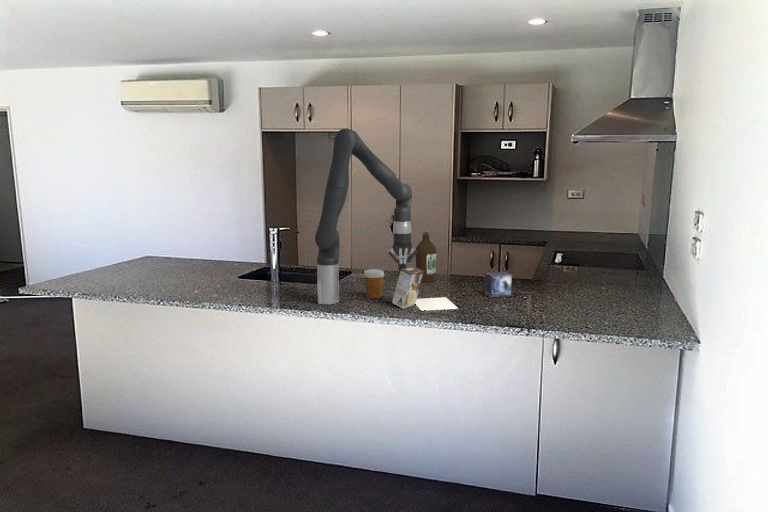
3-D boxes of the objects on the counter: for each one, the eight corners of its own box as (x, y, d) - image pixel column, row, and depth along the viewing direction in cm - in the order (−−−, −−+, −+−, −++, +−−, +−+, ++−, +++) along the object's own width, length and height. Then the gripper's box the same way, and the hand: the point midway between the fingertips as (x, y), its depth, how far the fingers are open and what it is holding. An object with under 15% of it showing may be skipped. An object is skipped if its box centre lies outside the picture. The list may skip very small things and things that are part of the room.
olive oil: (410, 280, 297) (411, 232, 292) (424, 277, 304) (425, 230, 300) (426, 284, 289) (426, 234, 285) (440, 280, 297) (441, 232, 292)
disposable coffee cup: (360, 295, 267) (360, 270, 265) (380, 293, 270) (380, 268, 268) (367, 300, 258) (367, 274, 256) (387, 298, 261) (387, 272, 259)
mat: (420, 310, 242) (420, 309, 242) (411, 299, 259) (411, 299, 259) (457, 308, 244) (457, 307, 244) (446, 298, 262) (446, 297, 262)
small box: (490, 298, 261) (491, 275, 260) (484, 295, 268) (484, 272, 266) (511, 296, 264) (512, 274, 262) (505, 293, 270) (505, 271, 269)
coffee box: (403, 298, 254) (412, 265, 249) (415, 304, 251) (424, 271, 246) (391, 302, 247) (400, 268, 242) (403, 309, 244) (412, 274, 238)
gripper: (388, 233, 239) (388, 274, 242) (419, 232, 241) (419, 273, 244) (385, 231, 246) (385, 271, 249) (415, 230, 248) (415, 269, 251)
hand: (402, 272), depth 247 cm, fingers closed
